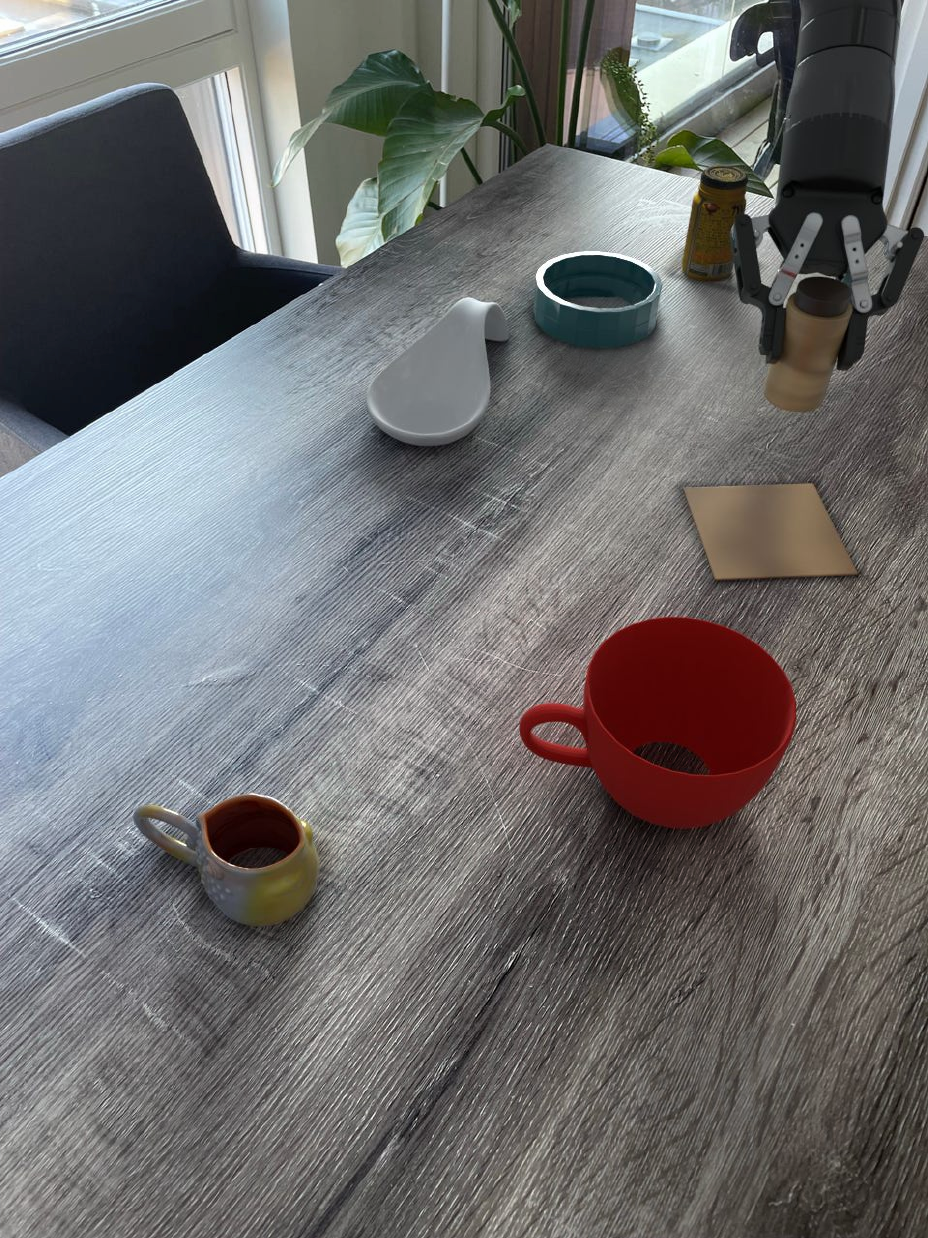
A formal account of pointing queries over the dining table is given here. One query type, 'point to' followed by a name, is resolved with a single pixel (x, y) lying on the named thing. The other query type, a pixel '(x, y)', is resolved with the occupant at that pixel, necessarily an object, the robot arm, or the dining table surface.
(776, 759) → the ceramic cup
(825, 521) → the plate
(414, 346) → the spoon rest
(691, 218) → the condiment
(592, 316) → the pot
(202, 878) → the mug
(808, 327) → the pepper mill
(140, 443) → the dining table surface
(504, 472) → the dining table surface
